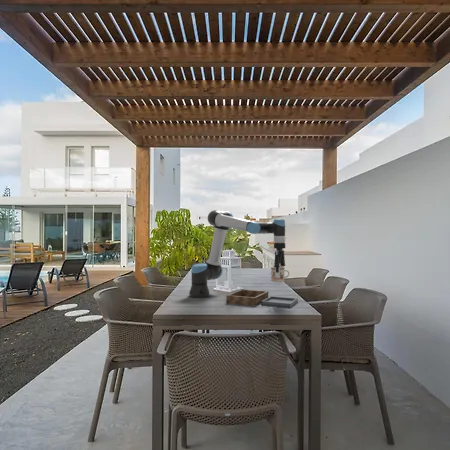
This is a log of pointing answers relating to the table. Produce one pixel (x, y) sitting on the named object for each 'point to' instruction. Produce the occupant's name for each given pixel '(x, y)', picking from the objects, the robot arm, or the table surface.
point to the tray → (279, 301)
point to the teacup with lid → (281, 279)
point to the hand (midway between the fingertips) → (279, 276)
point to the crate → (247, 297)
